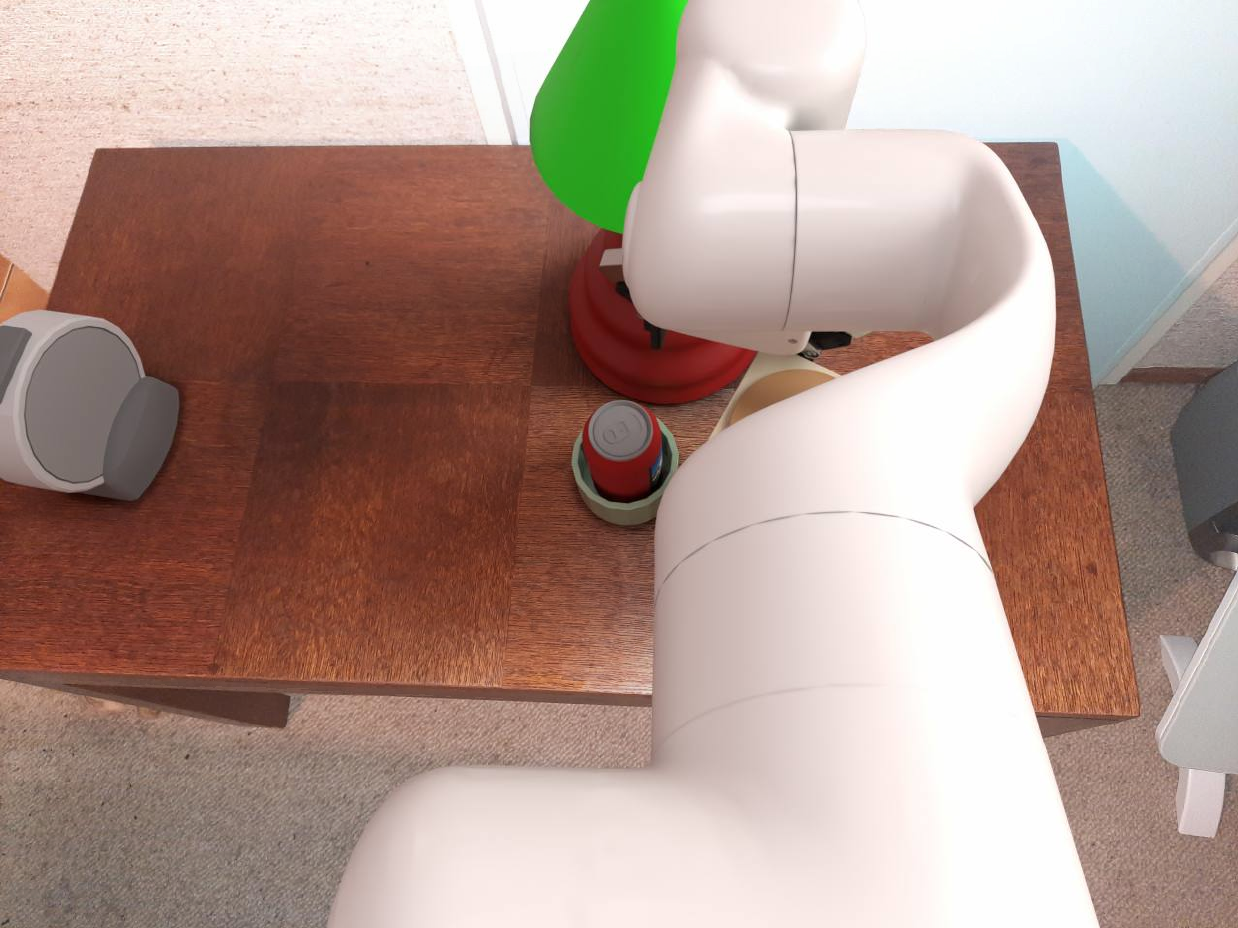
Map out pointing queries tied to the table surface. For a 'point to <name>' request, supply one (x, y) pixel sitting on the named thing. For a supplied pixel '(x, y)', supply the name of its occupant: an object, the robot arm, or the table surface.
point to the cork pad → (776, 390)
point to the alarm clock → (80, 407)
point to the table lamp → (618, 190)
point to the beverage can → (623, 451)
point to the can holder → (623, 511)
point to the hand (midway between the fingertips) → (727, 347)
